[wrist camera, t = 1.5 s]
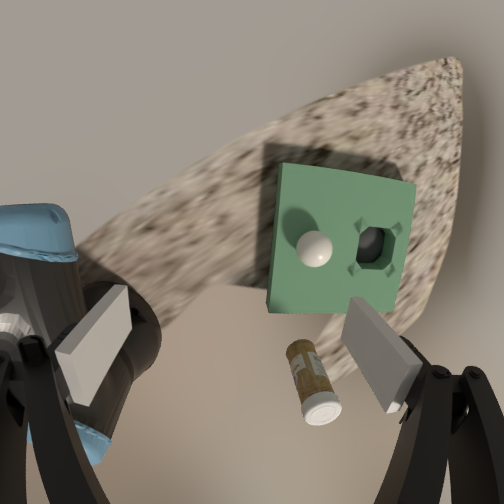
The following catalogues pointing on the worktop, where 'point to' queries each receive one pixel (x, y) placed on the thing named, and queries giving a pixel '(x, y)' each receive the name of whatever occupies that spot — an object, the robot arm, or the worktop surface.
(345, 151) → the worktop surface
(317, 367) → the sprinkles bottle
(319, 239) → the ball
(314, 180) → the putting board
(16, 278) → the robot arm
